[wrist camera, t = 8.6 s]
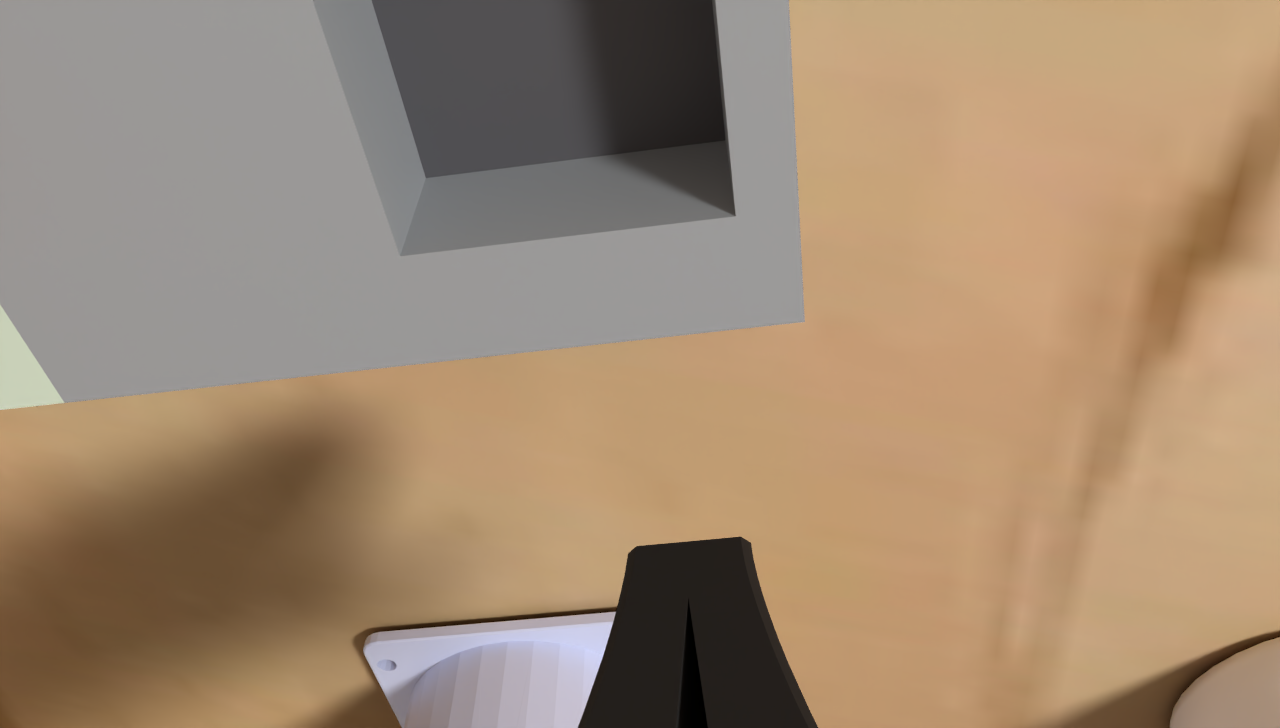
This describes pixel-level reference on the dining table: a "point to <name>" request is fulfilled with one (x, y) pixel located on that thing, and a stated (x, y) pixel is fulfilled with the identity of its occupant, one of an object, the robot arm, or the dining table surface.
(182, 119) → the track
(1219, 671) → the milk bottle
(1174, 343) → the dining table surface
